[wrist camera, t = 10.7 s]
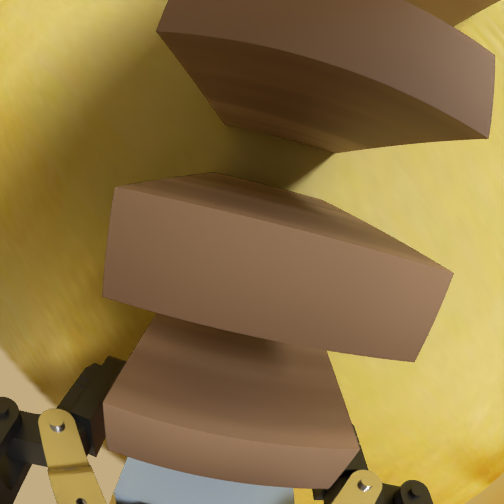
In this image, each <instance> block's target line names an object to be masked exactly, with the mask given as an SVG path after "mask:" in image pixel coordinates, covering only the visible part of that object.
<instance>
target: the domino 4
mask: <svg viewBox="0 0 504 504" xmlns="http://www.w3.org/2000/svg"><path fill="white" fill-rule="evenodd" d="M114 494H115V500H116V504H294V494H293V488H286V487H273V486H262V485H253V484H245V483H238V482H231V481H225V480H219V479H213V478H208V477H203V476H198V475H193V474H188V473H184V472H180V471H176V470H171V469H168V468H164V467H160V466H156V465H153V464H149V463H146V462H143V461H139V460H136V459H133V458H130V457H127V460H126V462H125V465H124V467H123V470H122V473H121V475H120V478H119V481H118V483H117V486H116V489H115V491H114Z"/></svg>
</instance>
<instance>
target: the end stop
mask: <svg viewBox="0 0 504 504" xmlns="http://www.w3.org/2000/svg"><path fill="white" fill-rule="evenodd" d="M404 1H406V2H408V3H410V4H412V5H414V6H416V7H418V8H420V9H422V10H424V11H426V12H428V13H430V14H431V15H433V16H435V17H437V18H439V19H440V20H442V21H444V22H446V23H447V24H449V25H451V26H452V27H453V26H455V25H457V24H458V23H460V22H462V21H463V20H465V19H467V18H469V17H470V16H472V15H474V14H476V13H477V12H479V11H481V10H483V9H485V8H487V7H488V6H490V5H492V4H494V3H496V2H498V1H500V0H404Z"/></svg>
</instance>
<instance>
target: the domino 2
mask: <svg viewBox="0 0 504 504" xmlns="http://www.w3.org/2000/svg"><path fill="white" fill-rule="evenodd" d="M453 274H454V273H453V272H451V271H449V270H448V269H446V268H445V267H443V266H441V265H440V264H438V263H436V262H435V261H433V260H431V259H430V258H428V257H426V256H425V255H423V254H421V253H419V252H418V251H416V250H414V249H413V248H411V247H409V246H407V245H406V244H404V243H402V242H400V241H399V240H397V239H395V238H393V237H391V236H390V235H388V234H386V233H384V232H382V231H381V230H379V229H377V228H375V227H373V226H371V225H370V224H368V223H366V222H364V221H362V220H360V219H358V218H356V217H354V216H353V215H351V214H349V213H347V212H345V211H343V210H341V209H339V208H337V207H335V206H333V205H331V204H329V203H327V202H325V201H323V200H320V199H317V198H313V197H309V196H306V195H302V194H298V193H295V192H291V191H287V190H283V189H280V188H276V187H272V186H268V185H264V184H260V183H256V182H252V181H248V180H244V179H240V178H235V177H231V176H227V175H222V174H218V173H214V172H211V173H203V174H195V175H187V176H180V177H172V178H165V179H159V180H152V181H146V182H140V183H134V184H128V185H122V186H116V187H115V189H114V195H113V201H112V207H111V214H110V221H109V229H108V237H107V246H106V256H105V267H104V279H103V295H102V297H105V298H108V299H111V300H115V301H118V302H121V303H125V304H128V305H131V306H135V307H138V308H142V309H145V310H149V311H152V312H156V313H159V314H163V315H167V316H170V317H174V318H178V319H182V320H186V321H189V322H193V323H197V324H201V325H205V326H210V327H214V328H218V329H222V330H226V331H231V332H235V333H240V334H244V335H249V336H254V337H258V338H263V339H268V340H273V341H278V342H283V343H288V344H294V345H299V346H304V347H310V348H316V349H322V350H328V351H334V352H340V353H347V354H353V355H360V356H367V357H375V358H382V359H390V360H399V361H408V362H415V360H416V358H417V356H418V354H419V352H420V350H421V348H422V346H423V344H424V342H425V340H426V338H427V336H428V334H429V332H430V329H431V327H432V325H433V323H434V321H435V318H436V316H437V314H438V311H439V309H440V307H441V304H442V302H443V300H444V297H445V295H446V292H447V290H448V287H449V285H450V282H451V279H452V277H453Z"/></svg>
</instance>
